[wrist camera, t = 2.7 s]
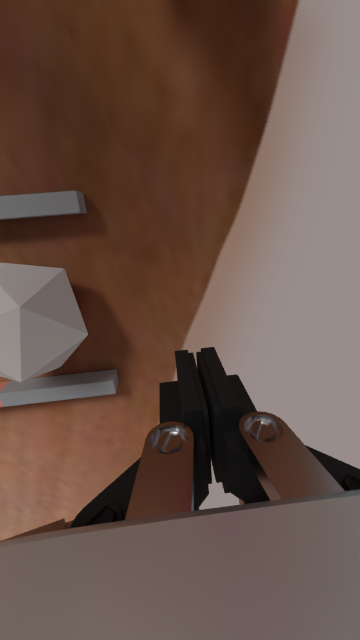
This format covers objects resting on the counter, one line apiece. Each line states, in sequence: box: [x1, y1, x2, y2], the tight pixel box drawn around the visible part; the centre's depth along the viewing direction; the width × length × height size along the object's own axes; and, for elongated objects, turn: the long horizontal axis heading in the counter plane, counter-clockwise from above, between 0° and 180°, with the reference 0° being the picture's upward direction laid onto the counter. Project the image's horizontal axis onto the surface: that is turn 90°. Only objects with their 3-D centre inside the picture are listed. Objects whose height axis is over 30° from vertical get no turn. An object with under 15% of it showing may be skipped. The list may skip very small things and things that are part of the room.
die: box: [0, 263, 88, 382], centre depth 19 cm, size 8×9×10 cm
